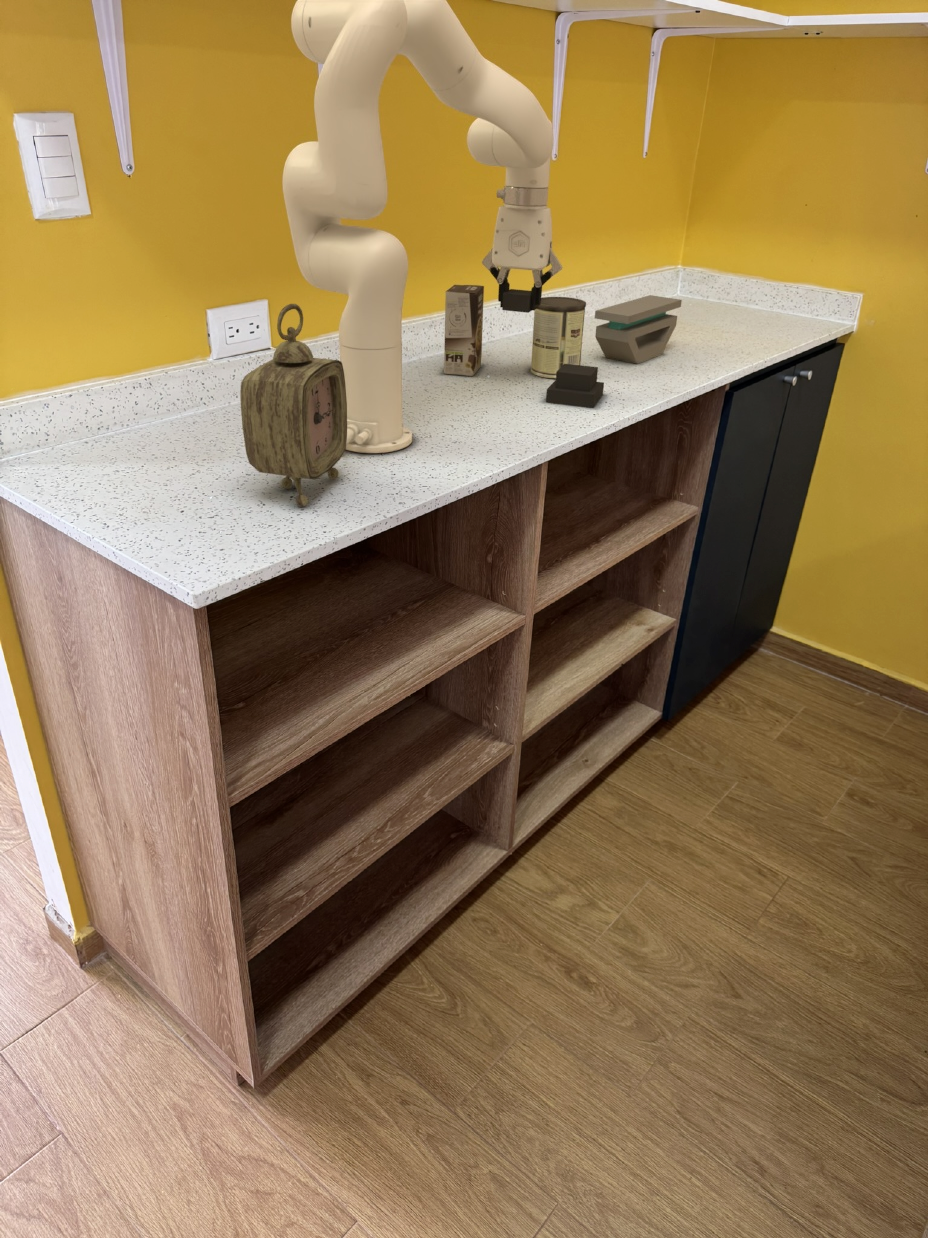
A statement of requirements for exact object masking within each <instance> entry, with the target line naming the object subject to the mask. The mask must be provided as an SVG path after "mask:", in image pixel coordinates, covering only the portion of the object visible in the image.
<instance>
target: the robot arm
mask: <svg viewBox="0 0 928 1238" xmlns="http://www.w3.org/2000/svg"><path fill="white" fill-rule="evenodd" d="M290 27H291V33H292V37H293V40H294V42H295V44H296V46H297V49H298V50H299V51H300V52H301V53H302V55H303V56H305V57H306V58H307V59H308V60H309V61H311V62H314V63H316V64H318V65H319V64H320V65H322V68H321V70H320V73H319V74H318V75H319V76H318V79H317V82H316V85H315V90H314V97H313V111H314V118H315V129H316V135H317V140H316V141H314V140H313V141H306V142H302V143H300V144H298V145H296V146H295V147H294V148H293V149H292V150H291V151H290V152H289V154H288V155H287V158H286V160H285V163H284V167H283V172H282V193H283V194H282V195H283V199H284V205H285V210H286V215H287V221H288V225H289V230H290V235H291V240H292V245H293V250H294V255H295V258H296V259H295V260H296V262H297V265H298V268H299V271H300V273H301V275H302V277H303V278H304V279H305V281H306V282H307V283H308V284H310V285H311V286H312V287H314V288H317V289H319V290H322V291H327V292H332V293H338V294H342V295H346V296H348V297H347V298H348V299H347V301H346V304H345V307H344V308H343V311H342V313H341V316H340V320H339V324H338V343H339V347H338V348H339V361H341V362H342V365H343V370H344V376H345V386H346V400H347V441H346V450H345V451H348V452H349V451H350V452H354V453H361V454H383V453H391V452H396V451H399V450H402V449H405V448H407V447H408V446H409V445H411V444H412V442H413V433H412V431H411V430H410V429H409V428H407V427H405V426H403V425H404V424H403V423H404V422H403V421H404V419H403V417H404V416H403V340H402V339H403V336H402V334H403V333H402V331H403V330H402V329H403V328H402V327H403V325H402V324H403V303H404V296H405V290H406V285H407V281H408V280H407V279H408V274H409V273H408V272H409V258H408V254H407V251H406V248H405V246H404V245H403V243H402V242H401V241H400V240H399V239H398V237H396V236H395V235H394V234H392V233H390V232H388V231H385V230H382V229H378V228H374V227H365V226H358V225H346V224H342V219H345V220H355V221H358V220H359V221H367V220H371V219H374V218H377V217H378V216H380V215H381V214H382V213H383V212H384V209H385V208H386V206H387V202H388V196H389V195H388V194H389V193H388V192H389V191H388V190H389V189H388V178H387V170H386V162H385V154H384V147H383V138H382V131H381V124H380V123H381V121H380V110H379V109H380V108H379V104H380V95H381V89H382V86H383V83H384V80H385V77H386V75H387V74H388V70H389V68H390V67H391V65H392V63H393V62H394V60H395V58H396V57H397V55H401V56H404V57H406V58H407V59H408V60H409V62H410V63H411V64H412V65H413V67H414V68H415V69H416V71H417V72H418V73H419V75H420V76H421V77H422V79H423V80H424V81H425V83H426V84H427V86H428V87H429V88H430V90H431V91H432V92H433V94H434V95H435V97H436V98H437V99H438V100H439V101H440V102H441V104H443V105H445V106H447V107H449V108H451V109H454V110H456V111H457V112H461V113H463V114H464V115H468V116H471V117H475V118H476V119H474V121H473V122H472V123H471V124H470V126H469V128H468V131H467V134H466V145H467V149H468V152H469V154H470V155H471V157H472V158H473V159H474V160H475V161H476V162H477V163H479V164H482V165H485V166H490V167H502V168H505V178H504V179H505V180H504V181H505V182H504V186H503V188H501V189H497V190H496V197H497V199H501V200H502V203H503V205H499V207H498V210H497V215H496V220H495V226H494V231H493V232H494V233H493V241H492V248H491V249H490V250H489V251H488V253H487V254H486V255H485V256H484V258H483V259H482V260H481V264H482V265H483V266H484V267H485V268H486V270H488V271H489V273H490V274H491V275H492V277H493V278H494V279H495V280H496V283H497V284H498V296H497V302H499V303H500V305H499V307H500V308H502V307H503V293H504V292H506V291H508V290H510V284H511V283H510V282H509V279H508V278H509V275H510V272H511V270H512V269H513V270H525V271H531V272H532V278H533V286H532V287H531V290H530V291H531V306H530V309H531V310H532V311H534V310H536V309H537V308H538V305H540V304H541V298H542V294H543V286H544V285H545V284H546V283H547V282H548V281H549V280H550V279H551V278H552V277H554V276H555V275H557V274H558V273H559V272H561V271H562V270H563V265H562V263H561V262H560V260H559V259H558V257H557V255H556V254H555V252H554V250H553V221H552V220H553V219H552V209H551V207H548V201H549V200H548V199H549V187H550V171H551V159H552V152H553V149H554V133H553V132H554V131H553V129H554V128H553V123H552V121H551V120H550V119H549V118H548V116H547V113H546V111H545V110H544V108H543V107H542V105H541V104H540V101H539V100H538V99H537V97H536V96H535V95H534V93H533V92H532V91H531V90H530V89H529V88H528V86H527V87H526V85H525V84H524V83H522V82H521V81H520V80H519V79H516V78H515V77H514V76H512V75H511V74H510V73H508V72H507V71H505V70H504V69H503V68H501V67H500V66H498V65H496V64H495V63H494V62H491V61H490V60H488V59H486V58H485V57H484V56H483V55H482V54H481V52H480V51H479V49H478V48H477V46H476V44H475V43H474V42H473V40H472V39H471V37H470V36H469V34H468V33H467V31H466V30H465V28H464V27H463V25H462V23H461V21H460V20H459V18H458V17H457V15H456V13H455V12H454V10H453V9H452V8H451V6H450V4H449V2H448V0H296V1H295V4H294V6H293V9H292V13H291V19H290ZM550 265H551V267H550V269H548V270H547V271H545V272H544V269H545V268H547V267H549V266H550Z"/></svg>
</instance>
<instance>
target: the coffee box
mask: <svg viewBox="0 0 928 1238" xmlns="http://www.w3.org/2000/svg"><path fill="white" fill-rule="evenodd" d="M484 295H485V285H478V284H476V285H475V284H453V285H452V286H451V287H450V288H447V290H445V302H444V303H445V304H444V305H445V306H444V348H443V349H444V354H443V355H444V356H443V358H444V360H443V374H444V375H456V376H457V375H458V376H467V377H473V376H475V374H476V373H477V372H478V370H479V369H480V368H481V367H482V357H483V356H482V354H483V353H482V352H483V324H484V297H485V296H484Z"/></svg>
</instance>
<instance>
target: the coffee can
mask: <svg viewBox="0 0 928 1238" xmlns="http://www.w3.org/2000/svg"><path fill="white" fill-rule="evenodd" d="M586 307H587V302H586V301H585V300H583V299H581V298H575V297H568V296H545V297H544V296H543V297H541V304H540V305H538V308H537V309H536V310H533V311H534V312H533V327H532V328H533V329H532V345H531V346H532V347H531V365H530V374H532V375H534V376H537V377H540V378H546V379H556V372H557V371H558V370H559V369H560V368H561V367H562V366H563V365H564V364H572V365H581V361H582V360H581V359H582V348H583V346H582V345H583V337H584V336H583V335H584V327H585V326H584V324H585V315H586V313H585V312H586Z"/></svg>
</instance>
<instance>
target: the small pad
mask: <svg viewBox="0 0 928 1238" xmlns="http://www.w3.org/2000/svg"><path fill="white" fill-rule="evenodd" d="M530 306H531V290H525V289H515V288H509V290H508V291H506V292H504V293H503V307H501V308H502V309H501V310H502V311H507V312H515V313H527V314H529V313H530V312H532V311H533V310H531V309H530Z"/></svg>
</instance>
